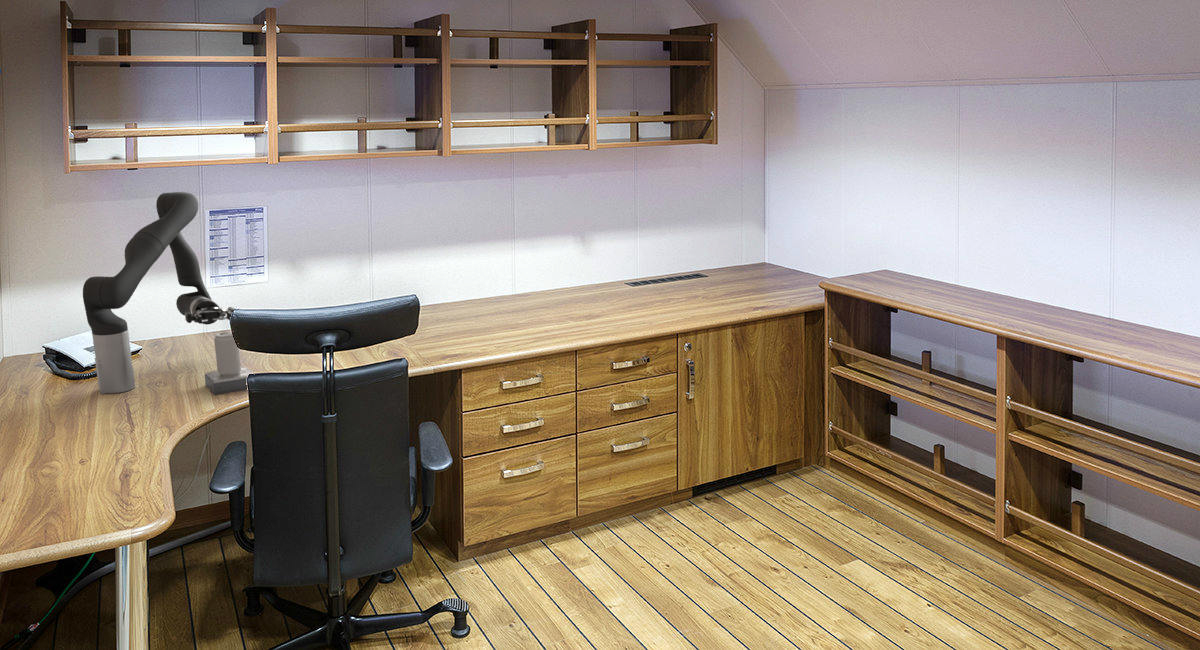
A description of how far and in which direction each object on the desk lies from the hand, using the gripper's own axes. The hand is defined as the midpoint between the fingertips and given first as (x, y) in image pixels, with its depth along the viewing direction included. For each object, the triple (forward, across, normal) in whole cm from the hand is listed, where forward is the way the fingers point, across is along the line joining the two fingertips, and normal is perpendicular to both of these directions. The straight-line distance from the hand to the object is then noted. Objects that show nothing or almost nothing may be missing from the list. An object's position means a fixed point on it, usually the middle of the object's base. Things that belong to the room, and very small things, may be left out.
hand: (216, 318), depth 282 cm
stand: (+10, +1, +19) cm, 21 cm away
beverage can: (+10, 0, +15) cm, 18 cm away
